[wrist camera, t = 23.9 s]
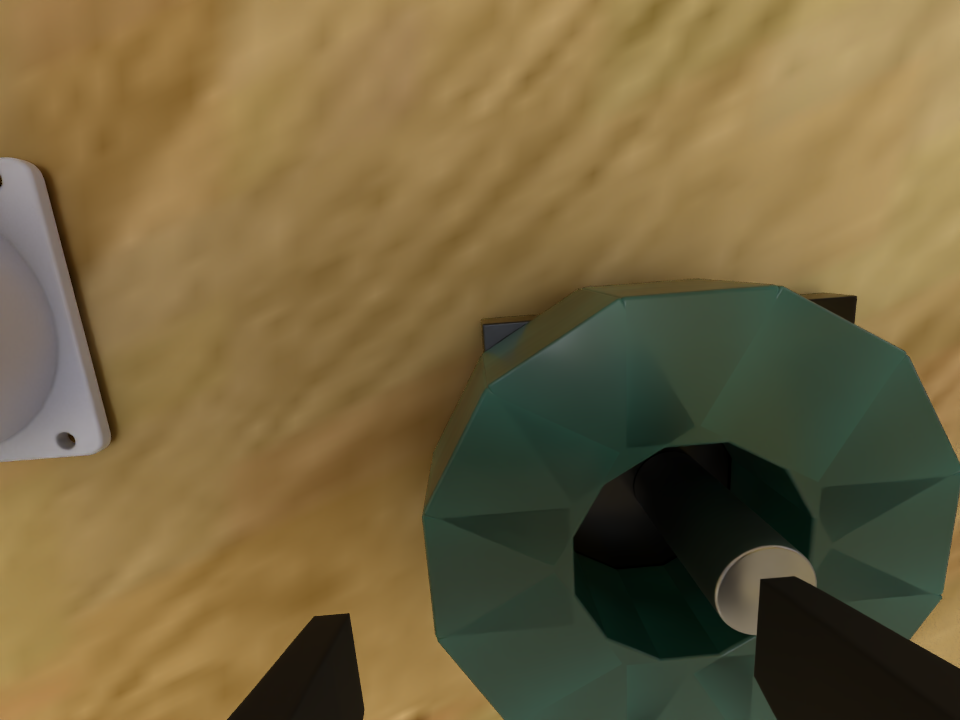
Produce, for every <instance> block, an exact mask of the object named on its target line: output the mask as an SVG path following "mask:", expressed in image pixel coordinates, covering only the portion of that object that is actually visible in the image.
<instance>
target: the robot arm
mask: <svg viewBox="0 0 960 720" xmlns="http://www.w3.org/2000/svg"><path fill="white" fill-rule="evenodd" d="M0 176H1V177H2V186H1V187H0V462H8V461H21V460H34V459H46V458H59V457H72V456H84V455H92V454H95V453H98V452H99V451H101V450H103V449H105V448H106V447H107V446H108V445H109V443H110V441H111V432H110V429H109V425H108V421H107V417H106V413H105V410H104V406H103V402H102V398H101V394H100V390H99V387H98V383H97V379H96V375H95V371H94V368H93V364H92V360H91V356H90V352H89V348H88V345H87V341H86V337H85V333H84V329H83V326H82V322H81V318H80V314H79V310H78V306H77V303H76V299H75V295H74V291H73V287H72V283H71V280H70V276H69V272H68V268H67V264H66V261H65V257H64V253H63V249H62V245H61V241H60V238H59V234H58V230H57V226H56V222H55V219H54V215H53V211H52V207H51V203H50V199H49V196H48V192H47V188H46V184H45V180H44V178H43V175H42V173H41V171H40V170H39V169H38V168H37V167H36V166H35V165H34V164H32V163H30V162H28V161H26V160H21V159H17V158H10V157H3V158H0ZM68 433H70V434H71V435H73V437H74V438H75V443H74V442H72V441H71V440H70V438H69V437H68ZM754 677H755V679H756V681H757V683H758V685H759V687H760V689H761V691H762V693H763V695H764V696H765V698H766V700H767V702H768V704H769V706H770V708H771V710H772V712H773V714H774V715H775V717H776V719H777V720H960V669H959V668H958V667H956V666H954V665H952V664H951V663H949V662H947V661H945V660H943V659H942V658H940V657H938V656H936V655H935V654H933V653H931V652H929V651H928V650H926V649H924V648H922V647H920V646H919V645H917V644H915V643H913V642H912V641H910V640H908V639H906V638H905V637H903V636H901V635H899V634H898V633H896V632H894V631H893V630H891V629H889V628H887V627H886V626H884V625H882V624H880V623H879V622H877V621H875V620H873V619H872V618H870V617H868V616H866V615H865V614H863V613H861V612H859V611H858V610H856V609H854V608H852V607H851V606H849V605H847V604H845V603H844V602H842V601H840V600H838V599H837V598H835V597H833V596H831V595H829V594H828V593H826V592H824V591H822V590H820V589H819V588H817V587H815V586H813V585H811V584H809V583H807V582H805V581H803V580H801V579H800V578H798V577H796V576H790V577H778V578H766V579H760V591H759V606H758V620H757V635H756V650H755V665H754ZM363 716H364V704H363V697H362V691H361V685H360V678H359V672H358V665H357V659H356V653H355V646H354V640H353V634H352V627H351V621H350V614H349V613H348V614H336V615H324V616H314V617H313V618H312V620H311V621H310V622H309V623H308V624H307V625H306V626H305V628H304V629H303V630H302V631H301V632H300V633H299V635H298V636H297V637H296V638H295V639H294V641H293V642H292V643H291V644H290V645H289V647H288V648H287V649H286V650H285V652H284V653H283V654H282V655H281V656H280V658H279V659H278V660H277V661H276V662H275V664H274V665H273V666H272V667H271V668H270V670H269V671H268V672H267V673H266V674H265V676H264V677H263V678H262V679H261V680H260V682H259V683H258V684H257V685H256V686H255V688H254V689H253V690H252V691H251V692H250V694H249V695H248V696H247V697H246V698H245V699H244V701H243V702H242V703H241V704H240V705H239V706H238V707H237V709H236V710H235V711H234V712H233V713H232V714H231V716H230V717H229V718H228V719H227V720H363Z"/></svg>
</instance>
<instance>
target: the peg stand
mask: <svg viewBox="0 0 960 720" xmlns="http://www.w3.org/2000/svg"><path fill="white" fill-rule="evenodd" d="M800 295H801V296H803V297H804V298H806V299H808V300H810V301H812V302H814V303H816V304H818V305H819V306H821V307H823V308H825V309H827V310H829V311H831V312H833V313H834V314H836V315H838V316H840V317H842V318H844V319H846V320H848V321H849V322H851V323H853V324H854V322H855V312H856V302H857V296H854V295H843V294H832V293H813V294H800ZM539 315H541V314H537V315H524V316H511V317H498V318H485V319H481V330H482V344H483V353H484V352H486V351H487V350H489V349H490V348H492V347H493V346H494V345H496V344H497V343H499V342H500V341H502V340H503V339H505V338H506V337H508V336H509V335H511V334H512V333H514V332H515V331H517V330H518V329H520V328H521V327H523V326H524V325H526V324H527V323H529V322H530V321H532V320H533V319H535V318H536V317H538V316H539ZM731 462H732V458H731V456H730V454H729V453H728V451H727V449H726V448H725V446H724V444H723V443H716V444H704V445H691V446H679V447H667V448H663V449H661V450H660V451H658V452H657V453H655V454H653V455H652V456H650V457H648V458H647V459H645V460H644V461H642V462H640V463H639V464H637V465H636V466H634V467H632V468H631V469H629V470H628V471H626V472H624V473H623V474H621V475H619V476H618V477H616V478H615V479H613V480H611V481H610V482H608V483H607V484H605V485H604V486H603V487H602V489H601V491H600V493H599V494H598V496H597V498H596V500H595V501H594V503H593V505H592V506H591V508H590V510H589V512H588V513H587V515H586V517H585V518H584V520H583V522H582V524H581V525H580V527H579V529H578V531H577V532H576V534H575V536H574V537H573V542H574V551H575V552H576V553H578V554H581V555H583V556H585V557H588V558H590V559H593V560H595V561H597V562H600V563H602V564H604V565H607V566H609V567H612V568H614V569H627V568H639V567H651V566H662V565H665V564H667V563H668V562H670V561H672V560H673V559H675V558H677V557H678V559H679V560H680V561H681V563H682V564H683V566H684V567H685V568H686V570H687V571H688V573H689V574H690V575H691V577H692V578H693V580H694V581H695V582H696V584H697V585H698V587H699V588H700V589H701V591H702V592H703V594H704V595H705V596H706V598H707V599H708V601H709V602H710V603H711V605H712V606H713V608H714V609H715V610H716V612H717V613H718V615H719V616H720V617H721V619H722V620H723V621H724V622H725V623H726V624H727V625H728V626H730V627H731V628H733V629H735V630H737V631H739V632H742V633H744V634H749V635H757V620H758V606H759V591H760V579H766V578H778V577H790V576H796V577H798V578H800V579H801V580H803V581H805V582H807V583H809V584H811V585H813V586H815V587H817V580H816V575H815V571H814V569H813V567H812V565H811V563H810V562H809V560H808V559H807V558H806V557H805V556H804V555H803V554H802V553H801V552H799V551H798V550H797V549H796V548H795V547H794V546H793V545H791V544H790V543H789V542H788V541H787V540H786V539H785V538H783V537H782V536H781V535H780V534H779V533H778V532H777V531H775V530H774V529H773V528H772V527H771V526H770V525H769V524H767V523H766V522H765V521H764V520H763V519H762V518H761V517H759V516H758V515H757V514H756V513H755V512H754V511H752V510H751V509H750V508H749V507H748V506H747V505H746V504H744V503H743V502H742V501H741V500H740V499H739V498H738V497H736V496H735V495H734V494H733V493H732V492H731V491H730V483H731Z"/></svg>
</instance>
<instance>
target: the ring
mask: <svg viewBox="0 0 960 720" xmlns="http://www.w3.org/2000/svg"><path fill="white" fill-rule="evenodd" d="M716 443H723V444H724V446H725V448H726V449H727V451H728V453H729V454H730V456H731V458H732V462H731V483H730V491H731V492H732V493H733V494H734V495H735V496H736V497H738V498H739V499H740V500H741V501H742V502H743V503H744V504H746V505H747V506H748V507H749V508H750V509H751V510H752V511H754V512H755V513H756V514H757V515H758V516H759V517H761V518H762V519H763V520H764V521H765V522H766V523H767V524H769V525H770V526H771V527H772V528H773V529H774V530H775V531H777V532H778V533H779V534H780V535H781V536H782V537H783V538H785V539H786V540H787V541H788V542H789V543H790V544H791V545H793V546H794V547H795V548H796V549H797V550H798V551H799V552H801V553H802V554H803V555H804V556H805V557H806V558H807V559H808V560H809V562H810V563H811V565H812V567H813V569H814V571H815V575H816V580H817V588H819V589H820V590H822V591H824V592H826V593H828V594H829V595H831V596H833V597H835V598H837V599H838V600H840V601H842V602H844V603H845V604H847V605H849V606H851V607H852V608H854V609H856V610H858V611H859V612H861V613H863V614H865V615H866V616H868V617H870V618H872V619H873V620H875V621H877V622H879V623H880V624H882V625H884V626H886V627H887V628H889V629H891V630H893V631H894V632H896V633H898V634H899V635H901V636H903V637H905V638H906V639H908V640H910V639H911V637H912V636H913V635H914V633H915V632H916V631H917V630H918V628H919V627H920V626H921V624H922V623H923V622H924V621H925V619H926V618H927V617H928V616H929V614H930V613H931V612H932V610H933V609H934V608H935V607H936V605H937V604H938V603H939V601H940V600H941V599H942V596H941V594H942V593H943V590H944V584H945V578H946V572H947V566H948V560H949V554H950V548H951V542H952V536H953V530H954V523H955V517H956V511H957V505H958V499H959V493H960V463H959V461H958V458H957V456H956V454H955V452H954V450H953V448H952V446H951V444H950V442H949V440H948V437H947V435H946V433H945V431H944V429H943V427H942V425H941V423H940V421H939V418H938V416H937V414H936V412H935V410H934V408H933V406H932V404H931V402H930V400H929V397H928V395H927V393H926V391H925V389H924V387H923V385H922V383H921V381H920V378H919V376H918V374H917V372H916V370H915V368H914V366H913V364H912V362H911V360H910V357H909V356H907V355H906V352H905V351H904V350H902V349H900V348H898V347H896V346H895V345H893V344H891V343H889V342H887V341H885V340H883V339H881V338H880V337H878V336H876V335H874V334H872V333H870V332H868V331H866V330H864V329H863V328H861V327H859V326H857V325H855V324H853V323H851V322H849V321H848V320H846V319H844V318H842V317H840V316H838V315H836V314H834V313H833V312H831V311H829V310H827V309H825V308H823V307H821V306H819V305H818V304H816V303H814V302H812V301H810V300H808V299H806V298H804V297H803V296H801V295H799V294H797V293H795V292H793V291H791V290H789V289H788V288H786V287H784V286H777V285H773V284H760V283H747V282H734V281H721V280H707V279H686V280H673V281H660V282H647V283H634V284H621V285H609V286H596V287H584V288H582V289H578V290H576V291H575V292H573V293H572V294H570V295H569V296H567V297H566V298H564V299H563V300H561V301H560V302H558V303H557V304H555V305H554V306H552V307H551V308H549V309H548V310H546V311H545V312H544V313H542V314H541V315H539V316H538V317H536V318H535V319H533V320H532V321H530V322H529V323H527V324H526V325H524V326H523V327H521V328H520V329H518V330H517V331H515V332H514V333H512V334H511V335H509V336H508V337H506V338H505V339H503V340H502V341H500V342H499V343H497V344H496V345H494V346H493V347H492V348H490V349H489V350H487V351H486V352H484V353H483V354H482V356H481V357H480V358H479V360H478V362H477V364H476V366H475V368H474V370H473V372H472V374H471V376H470V378H469V380H468V382H467V384H466V387H465V389H464V391H463V393H462V395H461V397H460V399H459V401H458V403H457V405H456V407H455V409H454V411H453V413H452V415H451V417H450V419H449V421H448V423H447V425H446V427H445V429H444V431H443V433H442V435H441V437H440V439H439V441H438V444H437V446H436V448H435V450H434V452H433V458H432V463H431V469H430V475H429V480H428V486H427V492H426V498H425V503H424V509H423V515H422V522H423V531H424V540H425V548H426V557H427V566H428V575H429V584H430V593H431V602H432V610H433V619H434V628H435V635H436V637H437V640H438V642H439V643H440V645H441V646H442V647H443V648H444V649H445V650H446V652H447V653H448V654H449V655H450V656H451V658H452V659H453V660H454V661H455V662H456V663H457V665H458V666H459V667H460V668H461V669H462V671H463V672H464V673H465V674H466V675H467V676H468V678H469V679H470V680H471V681H472V682H473V684H474V685H475V686H476V687H477V688H478V689H479V691H480V692H481V693H482V694H483V695H484V697H485V698H486V699H487V700H488V701H489V702H490V704H491V705H492V706H493V707H494V708H495V710H496V711H497V712H498V713H499V714H500V715H501V717H502V718H503V719H504V720H777V719H776V717H775V715H774V714H773V712H772V710H771V708H770V706H769V704H768V702H767V700H766V698H765V696H764V695H763V693H762V691H761V689H760V687H759V685H758V683H757V681H756V679H755V677H754V665H755V650H756V635H749V634H744V633H742V632H739V631H737V630H735V629H733V628H731V627H730V626H728V625H727V624H726V623H725V622H724V621H723V620H722V619H721V617H720V616H719V615H718V613H717V612H716V610H715V609H714V608H713V606H712V605H711V603H710V602H709V601H708V599H707V598H706V596H705V595H704V594H703V592H702V591H701V589H700V588H699V587H698V585H697V584H696V582H695V581H694V580H693V578H692V577H691V575H690V574H689V573H688V571H687V570H686V568H685V567H684V566H683V564H682V563H681V561H680V560H679V559H678V557H677V558H675V559H673V560H672V561H670V562H668V563H667V564H665V565H662V566H651V567H639V568H627V569H614V568H612V567H609V566H607V565H604V564H602V563H600V562H597V561H595V560H593V559H590V558H588V557H585V556H583V555H581V554H578V553H576V552H575V551H574V542H573V537H574V536H575V534H576V532H577V531H578V529H579V527H580V525H581V524H582V522H583V520H584V518H585V517H586V515H587V513H588V512H589V510H590V508H591V506H592V505H593V503H594V501H595V500H596V498H597V496H598V494H599V493H600V491H601V489H602V487H603V486H604V485H605V484H607V483H608V482H610V481H611V480H613V479H615V478H616V477H618V476H619V475H621V474H623V473H624V472H626V471H628V470H629V469H631V468H632V467H634V466H636V465H637V464H639V463H640V462H642V461H644V460H645V459H647V458H648V457H650V456H652V455H653V454H655V453H657V452H658V451H660V450H661V449H663V448H667V447H679V446H691V445H704V444H716Z"/></svg>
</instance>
